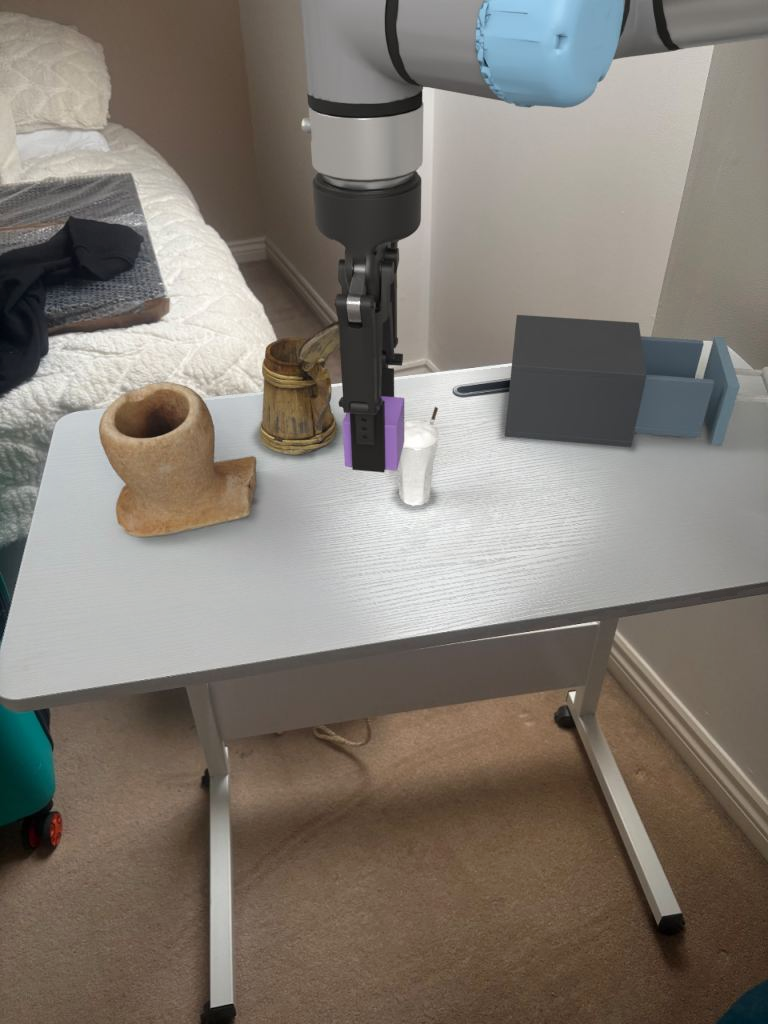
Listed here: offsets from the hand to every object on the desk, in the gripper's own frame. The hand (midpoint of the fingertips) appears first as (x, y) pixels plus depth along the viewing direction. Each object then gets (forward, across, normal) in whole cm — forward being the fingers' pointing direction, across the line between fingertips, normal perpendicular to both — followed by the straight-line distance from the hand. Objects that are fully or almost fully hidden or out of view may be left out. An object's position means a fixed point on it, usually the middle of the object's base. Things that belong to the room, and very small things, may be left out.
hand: (374, 450), depth 72 cm
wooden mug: (+14, -21, -12) cm, 28 cm away
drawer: (+14, -31, +32) cm, 47 cm away
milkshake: (+14, -12, +2) cm, 19 cm away
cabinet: (+14, -31, +19) cm, 39 cm away
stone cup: (+14, -6, -21) cm, 26 cm away
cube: (0, 0, 0) cm, 0 cm away
